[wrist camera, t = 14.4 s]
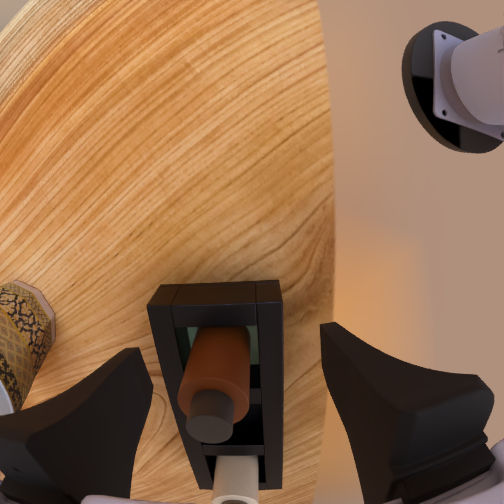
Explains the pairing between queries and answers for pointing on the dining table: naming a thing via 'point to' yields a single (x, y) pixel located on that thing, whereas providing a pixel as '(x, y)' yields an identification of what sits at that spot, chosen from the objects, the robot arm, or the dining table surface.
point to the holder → (261, 367)
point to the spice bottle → (216, 382)
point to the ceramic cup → (22, 341)
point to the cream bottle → (236, 480)
